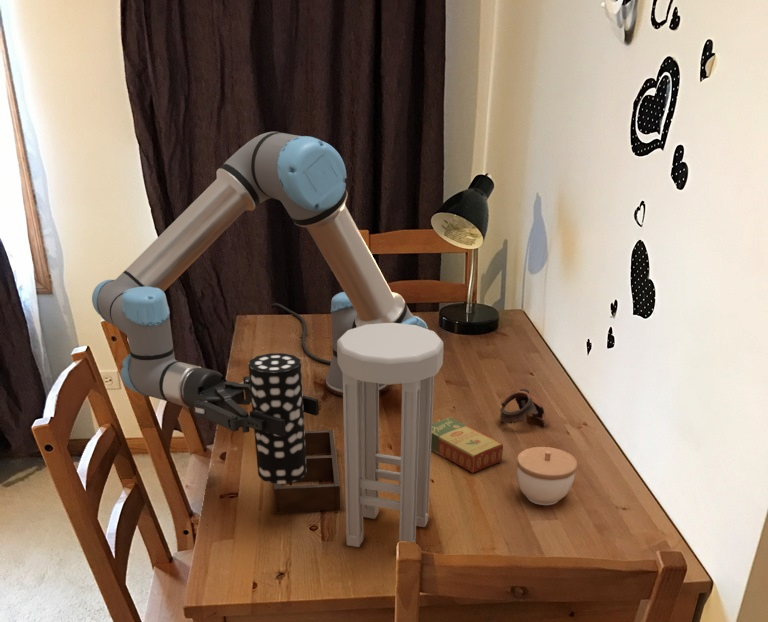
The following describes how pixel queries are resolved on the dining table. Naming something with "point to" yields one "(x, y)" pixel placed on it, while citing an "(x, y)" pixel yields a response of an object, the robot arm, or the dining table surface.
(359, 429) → the stool
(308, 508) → the open wooden box
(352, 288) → the robot arm
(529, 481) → the trinket box
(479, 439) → the carton
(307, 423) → the dining table surface
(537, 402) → the broken clay pot
